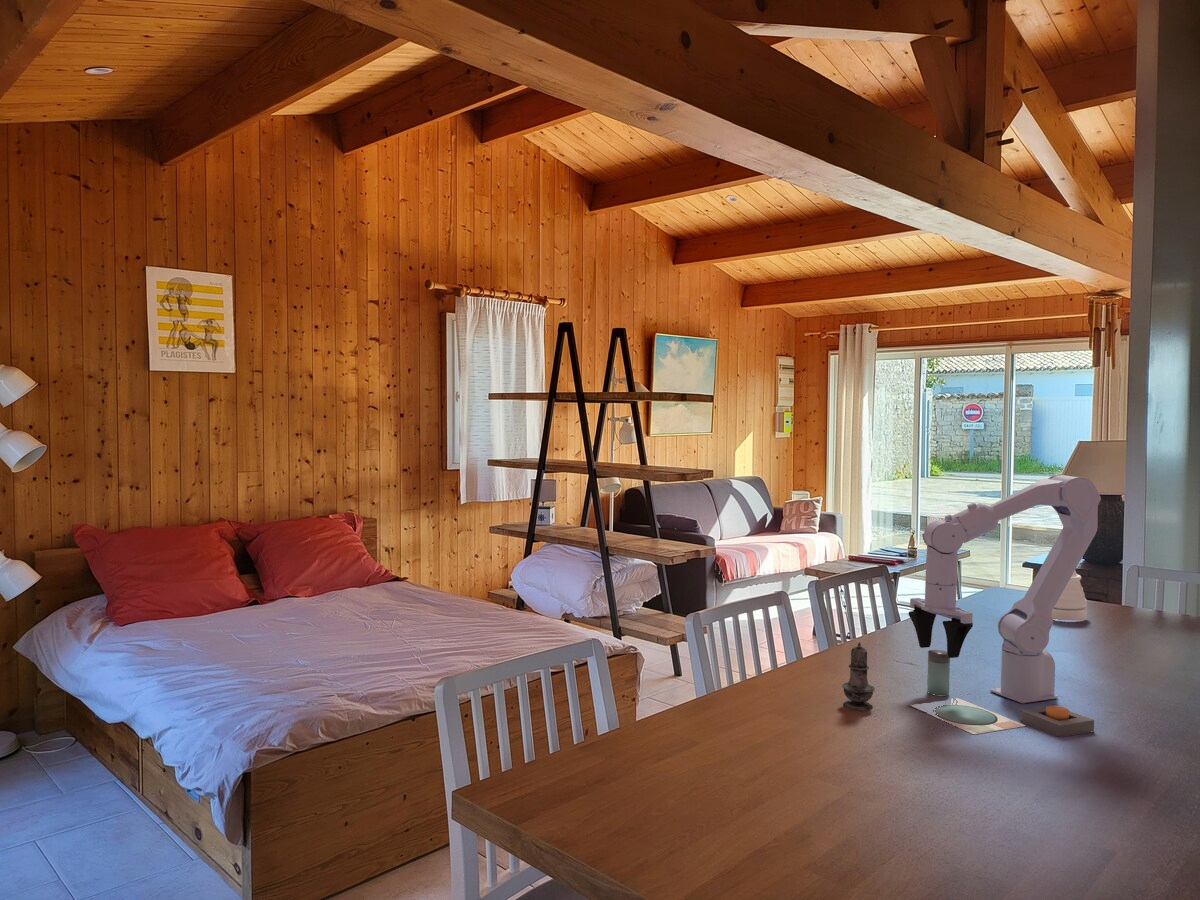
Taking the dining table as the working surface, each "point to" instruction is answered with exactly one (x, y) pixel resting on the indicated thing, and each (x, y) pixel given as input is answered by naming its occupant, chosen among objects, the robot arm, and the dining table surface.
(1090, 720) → the button housing
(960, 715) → the picture sheet
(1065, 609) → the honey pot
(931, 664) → the green capped cylinder
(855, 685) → the salt shaker
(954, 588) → the robot arm
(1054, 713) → the button
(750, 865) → the dining table surface
